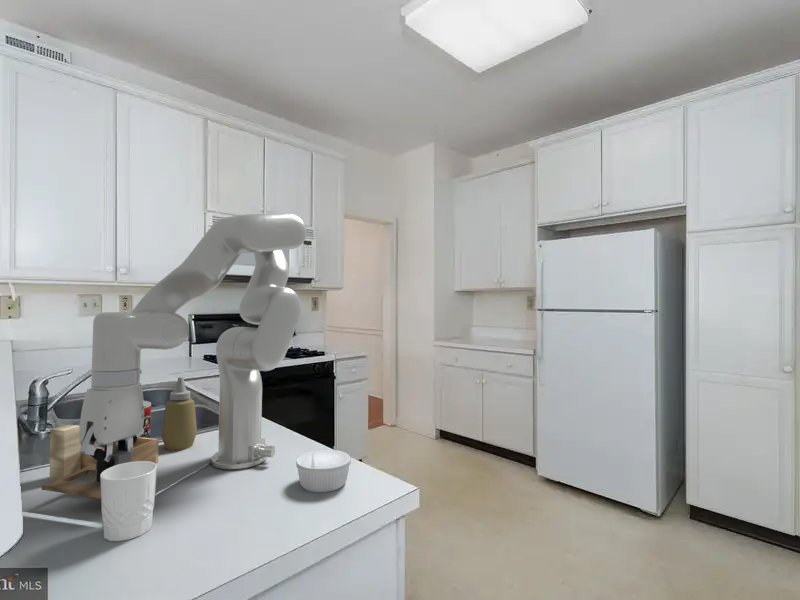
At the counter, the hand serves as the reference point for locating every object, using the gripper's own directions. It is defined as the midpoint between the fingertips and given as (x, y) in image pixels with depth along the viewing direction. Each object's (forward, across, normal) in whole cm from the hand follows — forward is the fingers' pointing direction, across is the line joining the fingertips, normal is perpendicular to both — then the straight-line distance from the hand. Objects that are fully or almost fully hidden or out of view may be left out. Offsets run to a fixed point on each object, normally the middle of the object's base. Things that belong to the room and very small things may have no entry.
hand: (113, 477), depth 79 cm
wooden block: (+5, -6, -18) cm, 20 cm away
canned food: (+5, -26, -21) cm, 34 cm away
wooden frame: (+1, 0, -3) cm, 3 cm away
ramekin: (+5, -18, +34) cm, 39 cm away
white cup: (+5, +7, +10) cm, 13 cm away
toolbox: (+5, -13, -12) cm, 19 cm away
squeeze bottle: (+5, -28, -9) cm, 30 cm away
